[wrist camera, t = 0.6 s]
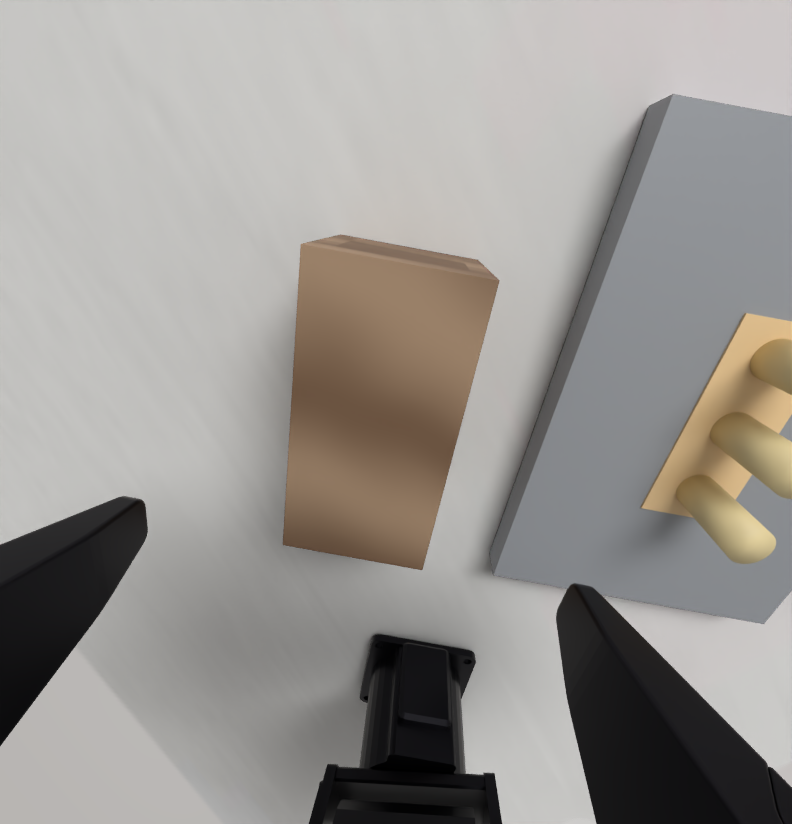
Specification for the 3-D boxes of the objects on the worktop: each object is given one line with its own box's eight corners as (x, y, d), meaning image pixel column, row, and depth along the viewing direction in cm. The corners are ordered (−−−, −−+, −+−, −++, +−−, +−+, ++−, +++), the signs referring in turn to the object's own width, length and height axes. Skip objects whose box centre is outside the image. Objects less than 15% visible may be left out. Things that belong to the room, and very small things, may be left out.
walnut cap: (423, 485, 21) (422, 570, 16) (318, 465, 21) (282, 545, 16) (478, 260, 16) (499, 280, 11) (340, 234, 16) (300, 244, 11)
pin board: (743, 599, 22) (822, 696, 18) (489, 553, 22) (504, 639, 18) (1064, 183, 14) (1375, 168, 9) (649, 106, 14) (757, 52, 9)
